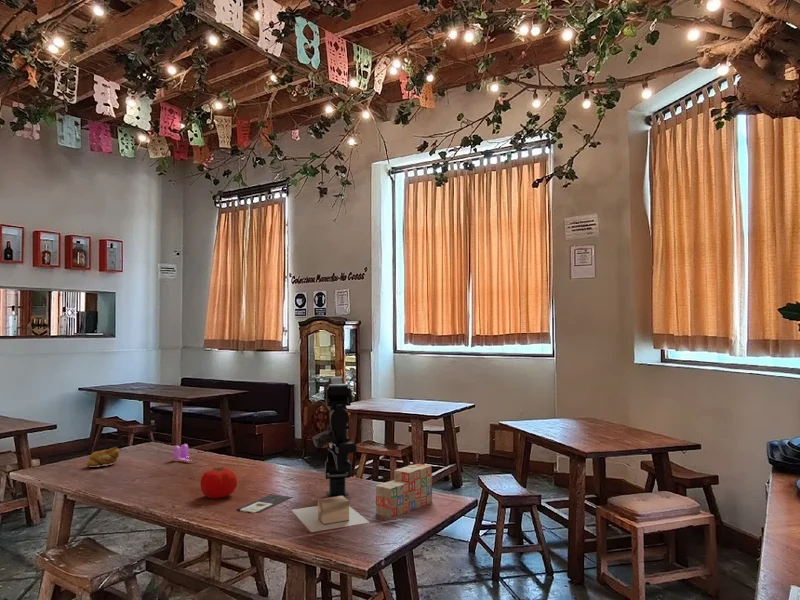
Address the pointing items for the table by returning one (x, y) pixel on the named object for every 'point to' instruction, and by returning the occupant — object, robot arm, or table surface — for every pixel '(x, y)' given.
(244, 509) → the chocolate bar
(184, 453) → the purple twin post stand
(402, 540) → the table surface
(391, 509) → the stack of blocks
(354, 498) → the table surface
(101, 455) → the bread roll
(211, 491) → the tomato
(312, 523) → the rubber mat
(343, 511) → the beech block
